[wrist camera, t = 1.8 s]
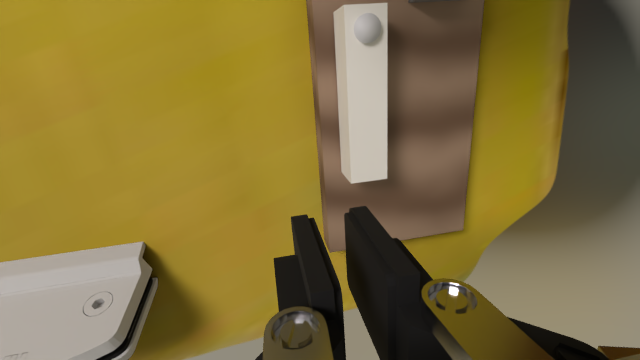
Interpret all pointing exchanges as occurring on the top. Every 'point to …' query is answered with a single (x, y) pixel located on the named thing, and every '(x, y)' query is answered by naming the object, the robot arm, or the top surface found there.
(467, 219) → the top surface
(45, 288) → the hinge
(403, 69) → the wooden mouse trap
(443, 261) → the top surface
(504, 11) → the top surface
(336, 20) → the folding leg
